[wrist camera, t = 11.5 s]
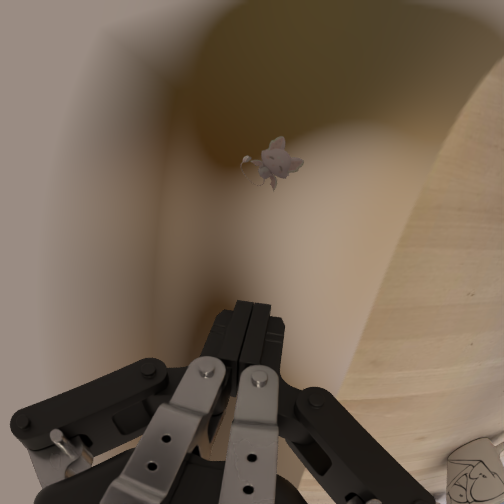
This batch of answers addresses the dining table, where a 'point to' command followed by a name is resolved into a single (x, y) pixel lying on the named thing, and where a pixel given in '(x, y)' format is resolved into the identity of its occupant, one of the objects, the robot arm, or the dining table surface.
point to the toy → (276, 162)
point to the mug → (475, 474)
